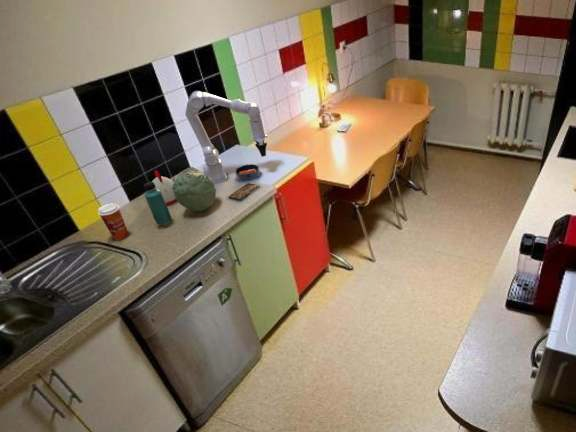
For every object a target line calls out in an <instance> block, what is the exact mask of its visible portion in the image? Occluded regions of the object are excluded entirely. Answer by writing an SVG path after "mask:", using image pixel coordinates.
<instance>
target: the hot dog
mask: <svg viewBox="0 0 576 432" xmlns="http://www.w3.org/2000/svg"><path fill="white" fill-rule="evenodd" d="M255 171H256V170H255V169H252V170H246V171H241V172H240V173H239V174H250V173H253V172H255Z"/></svg>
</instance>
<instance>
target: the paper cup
mask: <svg viewBox="0 0 576 432" xmlns="http://www.w3.org/2000/svg"><path fill="white" fill-rule="evenodd" d="M120 208H121V207H120V205H118V204H116V203H107V204H104V205H102V206H100V207H99V208H98V209H97V214H98V215H99V216H100V217H101V220H102V221H103V224H104V225H105V227H106V228H107V230H108V231H109V233H110V235H111V236H112V238H113V239H114V240H116V241H119V240H123V239H125V238H127V237H128V236H129V231H128V228H127V225H126V223H125V220H124V218H123V215H122V213H121V209H120Z"/></svg>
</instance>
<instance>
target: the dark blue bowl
mask: <svg viewBox="0 0 576 432" xmlns="http://www.w3.org/2000/svg"><path fill="white" fill-rule="evenodd" d="M252 169H255V170H256V171H255V172H253V173H250V174H239V173H240V172H241V171H246V170H252ZM234 174H235V178H236V180H237V181H239V182H251V181H254V180H257V179H258V178H259V177H260V176H261V170H260V166H259V165H257V164H252V163H250V164H244V165H240V166H238V167H236V168H235V170H234Z"/></svg>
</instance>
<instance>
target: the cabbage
mask: <svg viewBox="0 0 576 432" xmlns="http://www.w3.org/2000/svg"><path fill="white" fill-rule="evenodd" d="M172 181H173V182H174V184H173V187H172V188H173V191H174V195H175V198H176V200H177V201H178V202H177V203H178V204H179V205H180V206H182V207H183V208H185V209H187V210H189V211H191V212H202V211H204V210H206V209H208V208H209V207H211V206H212V204H214V201H215V198H216V195H217V189H216V185H215V182H213V180H212V179H211V178H209V177H208V175H207V176H205V174H204V172H202V171H201V170H199V169H197V168H195V167H194V166H190V167H188V168H185V169H184V170H183V171H180V172H179V174H177V176H174V177H173V178H172Z"/></svg>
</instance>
